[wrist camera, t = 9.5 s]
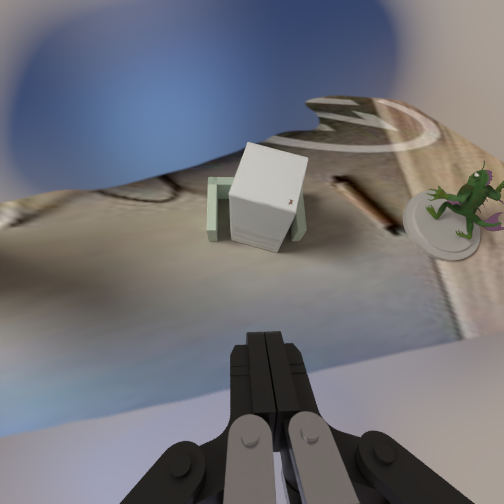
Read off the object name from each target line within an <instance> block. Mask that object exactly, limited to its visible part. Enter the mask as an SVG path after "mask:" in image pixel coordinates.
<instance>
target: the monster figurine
mask: <svg viewBox="0 0 504 504" xmlns="http://www.w3.org/2000/svg"><path fill="white" fill-rule="evenodd" d="M484 165H485V161H484ZM483 168H484V166H483ZM483 168H482V170H480V171H477V172H475V173H473V174H472V175H471V176H469V180H468V182H467V184H466V185H463V186H462V187H461V188H460V190H459V192H458V194H457V196H456V195H452V194H449V193H446V192H444V190H443V189H441V188H440V186H438V188H439V189H438V191H437V190H435V189H430V190H429V191H424V192H421V193H419V194H417V195H416V196H414V197H413V198H412V199H411V200H410V201H409V202H408V203H407V204H406V206H405V208H404V212H403V224H404V228H405V231H406V233H407V235H408V237H409V238H410V240H411V241H412V242H413V244H414V245H415V246H416V247H417V248H418V249H419V250H421V251H422V252H423V253H425V254H426V255H428V256H430V257H432V258H434V259H437V260H441V261H457V260H461V259H463V258H466V257H468V256H469V255H471V254H472V253H473V252H474V251H475V250H476V249H477V247H478V245H479V242H480V227H479V225H481V226H483V227H484V228H485V229H487V230H489V231H499V230H503V229H504V227H501V222H499V221H498V216H499V215H500V214H501V213H496V214H494V215H492V216H491V217H489V218H488V219H487V220H486V221H482V220H481V219H480V218H479V217H478V216H477V215H476V214H475V212H476V210H477V209H478V210H479V208H478V207H479V206H480V205H482V204H483V202H484V201H485V199H486V197H489V198H491V199H494V200H496V201H498V200H499V201H500V202H502V201H501V200H500V198H501V194H500V192H501V189H502V188H504V181H503V182H502V183H501V184H500V185H499V186H498V187H497V188H496V190H494V189H493V188H492V187H491V186H490V185H488V184H490V181H491V180H492V177H493V176H492V175H491V174H492V172H491V171H489V170H483ZM486 200H487V199H486ZM487 202H488V201H487ZM502 203H503V202H502ZM503 204H504V203H503ZM483 205H484V204H483ZM484 208H485V207H484ZM479 211H480V210H479ZM480 213H481V212H480Z"/></svg>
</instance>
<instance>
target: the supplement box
mask: <svg viewBox="0 0 504 504" xmlns="http://www.w3.org/2000/svg"><path fill="white" fill-rule="evenodd" d="M307 163H308V158H307V157H303V156H299V155H295V154H291V153H288V152H284V151H280V150H276V149H273V148H269V147H265V146H261V145H258V144H254V143H250V142H248V143H247V146H246V149H245V151H244V154H243V157H242V159H241V162H240V165H239V167H238V170H237V172H236V175H235V178H234V180H233V183H232V186H231V188H230V191H229V203H230V229H231V240H233V241H236V242H240V243H243V244H247V245H251V246H254V247H258V248H261V249H265V250H269V251H273V252H276V253H277V252H278V250H279V248H280V246H281V244H282V242H283V240H284V238H285V236H286V234H287V232H288V230H289V228H290V226H291V224H292V222H293V219H294V217H295V215H296V213H297V209H298V205H299V200H300V196H301V191H302V186H303V182H304V177H305V172H306V167H307Z"/></svg>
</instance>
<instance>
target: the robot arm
mask: <svg viewBox="0 0 504 504" xmlns="http://www.w3.org/2000/svg"><path fill="white" fill-rule="evenodd" d="M230 396H231V398H230V403H231V404H230V408H231V409H230V411H231V412H230V413H231V414H230V420H229V423H228V426H227V427H226V429H225V430H224V432H223V433H222V434H221V435H220V436H218V437H217V438H216V439H214V440H212V441H209V442H207V443H205V444H203V445H201V446H198V445H197V444H195V443H193V442H190V441H182V442H178V443H176V444H174V445H172V446H171V447H169V448H168V449H167V450H166V451H165V452H164V454H162V456H161V457H160V458H159V459H158V460H157V461H156V463H155V464H154V465H153V466H152V467H151V468H150V469H149V471H148V472H147V473H146V474H145V475H144V476H143V477H142V479H141V480H140V481H139V482H138V483H137V484H136V486H135V487H134V488H133V489H132V490H131V491H130V492H129V494H128V495H127V496H126V497H125V498H124V499H123V500H122V502H121V503H120V504H276V492H275V476H274V462H273V452H280V453H281V460H282V472H281V473H282V474H281V475H282V483H283V487H284V492H285V497H286V502H287V504H474V503H473V502H472V501H471V500H469V499H468V498H467V497H465V496H464V495H463V494H462V493H461V492H459V491H458V490H456V489H455V488H454V487H453V486H452V485H450V484H449V483H448V482H447V481H445V480H444V479H443V478H442V477H440V476H439V475H438V474H436V473H435V472H434V471H433V470H432V469H430V468H429V467H428V466H426V465H425V464H424V463H423V462H421V461H420V460H419V459H417V458H416V457H415V456H414V455H413V454H411V453H410V452H409V451H408V450H406V449H405V448H404V447H402V446H401V445H400V444H398V443H397V442H396V441H395V440H394V439H392V438H391V437H390V436H388V435H386V434H384V433H382V432H378V431H368V432H366V433H364V434H363V435H362V436H361V437H357V436H354V435H351V434H347V433H344V432H341V431H338V430H336V429H334V428H333V427H331V426H330V425H328V424H327V422H326V421H325V420H324V419H323V418H322V416H321V415H320V413H319V410H318V408H317V405H316V401H315V398H314V395H313V391H312V389H311V385H310V382H309V378H308V375H307V372H306V369H305V365H304V362H303V359H302V356H301V352H300V351H299V350H298V349H297V348H296V346H295V345H294V344H293V343H286V344H284V342H283V338H282V334H281V332H280V331H273V332H264V333H263V332H247V335H246V345H235V347H234V349H233V351H232V353H231V355H230Z"/></svg>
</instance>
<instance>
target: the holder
mask: <svg viewBox="0 0 504 504" xmlns="http://www.w3.org/2000/svg"><path fill="white" fill-rule="evenodd" d="M234 178H235V177H208V201H207V234H208V238H209V241H217V238H218V199H229V191H230V188H231V186H232V183H233V180H234ZM290 227H291V239H292V241H300V240H301V238H302V237H303V235H304V234H305V232H306V231H307V228H306V218H305V209H304V199H303V190H302V191H301V196H300V200H299V205H298V209H297V213H296V215H295V217H294V219H293V222H292V224H291V226H290Z"/></svg>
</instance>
